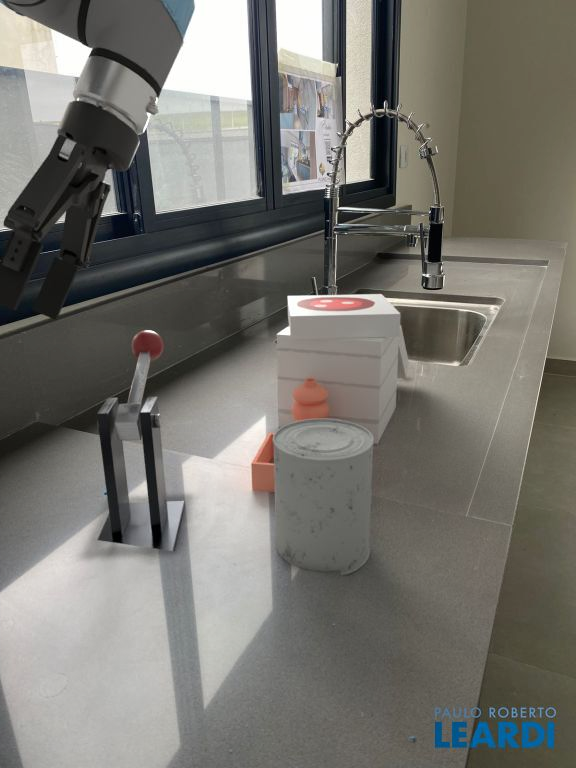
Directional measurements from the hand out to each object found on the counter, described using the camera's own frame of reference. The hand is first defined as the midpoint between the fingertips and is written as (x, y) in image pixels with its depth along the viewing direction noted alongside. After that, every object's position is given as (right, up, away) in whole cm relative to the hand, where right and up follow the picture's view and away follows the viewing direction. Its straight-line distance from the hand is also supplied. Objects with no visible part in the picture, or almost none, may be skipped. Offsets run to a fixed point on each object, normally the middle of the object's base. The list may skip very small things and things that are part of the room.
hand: (24, 310), depth 61 cm
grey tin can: (+30, -24, 0) cm, 39 cm away
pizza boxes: (+36, -11, +37) cm, 53 cm away
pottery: (+29, -18, +18) cm, 38 cm away
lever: (+11, -8, +4) cm, 14 cm away
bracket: (+11, -23, +2) cm, 26 cm away
